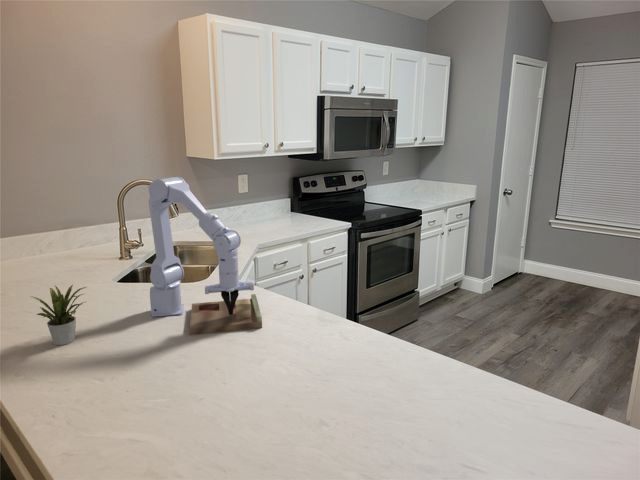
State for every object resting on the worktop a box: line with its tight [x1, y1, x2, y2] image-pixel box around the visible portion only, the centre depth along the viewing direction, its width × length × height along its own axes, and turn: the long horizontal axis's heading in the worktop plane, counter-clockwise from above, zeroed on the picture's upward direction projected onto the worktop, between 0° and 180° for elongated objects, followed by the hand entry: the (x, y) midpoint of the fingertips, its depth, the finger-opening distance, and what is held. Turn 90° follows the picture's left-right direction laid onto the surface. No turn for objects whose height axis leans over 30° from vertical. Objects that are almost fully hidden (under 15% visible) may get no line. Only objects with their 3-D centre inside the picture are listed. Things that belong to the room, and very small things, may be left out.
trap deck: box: [188, 293, 263, 336], centre depth 143 cm, size 21×20×4 cm
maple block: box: [235, 298, 251, 319], centre depth 140 cm, size 4×4×4 cm
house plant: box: [28, 284, 87, 346], centre depth 127 cm, size 14×14×16 cm
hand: (230, 313), depth 140 cm, fingers closed
